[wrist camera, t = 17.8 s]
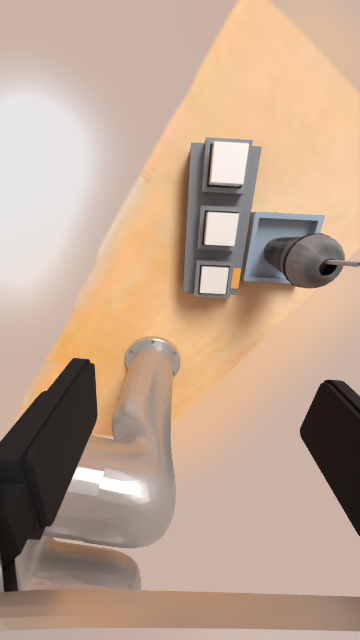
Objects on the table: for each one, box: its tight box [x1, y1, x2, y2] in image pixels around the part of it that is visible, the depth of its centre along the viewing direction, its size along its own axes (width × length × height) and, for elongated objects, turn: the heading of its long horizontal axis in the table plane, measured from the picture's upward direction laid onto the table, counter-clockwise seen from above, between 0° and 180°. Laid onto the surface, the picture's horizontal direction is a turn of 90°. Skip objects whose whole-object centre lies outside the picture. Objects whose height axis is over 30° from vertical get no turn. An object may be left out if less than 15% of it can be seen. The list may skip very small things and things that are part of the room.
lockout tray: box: [240, 212, 325, 283], centre depth 39 cm, size 12×12×2 cm
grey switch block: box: [183, 137, 261, 298], centre depth 35 cm, size 22×10×8 cm, turn 177°
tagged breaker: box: [199, 265, 229, 294], centre depth 37 cm, size 4×4×2 cm
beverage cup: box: [264, 233, 360, 288], centre depth 31 cm, size 7×7×20 cm
